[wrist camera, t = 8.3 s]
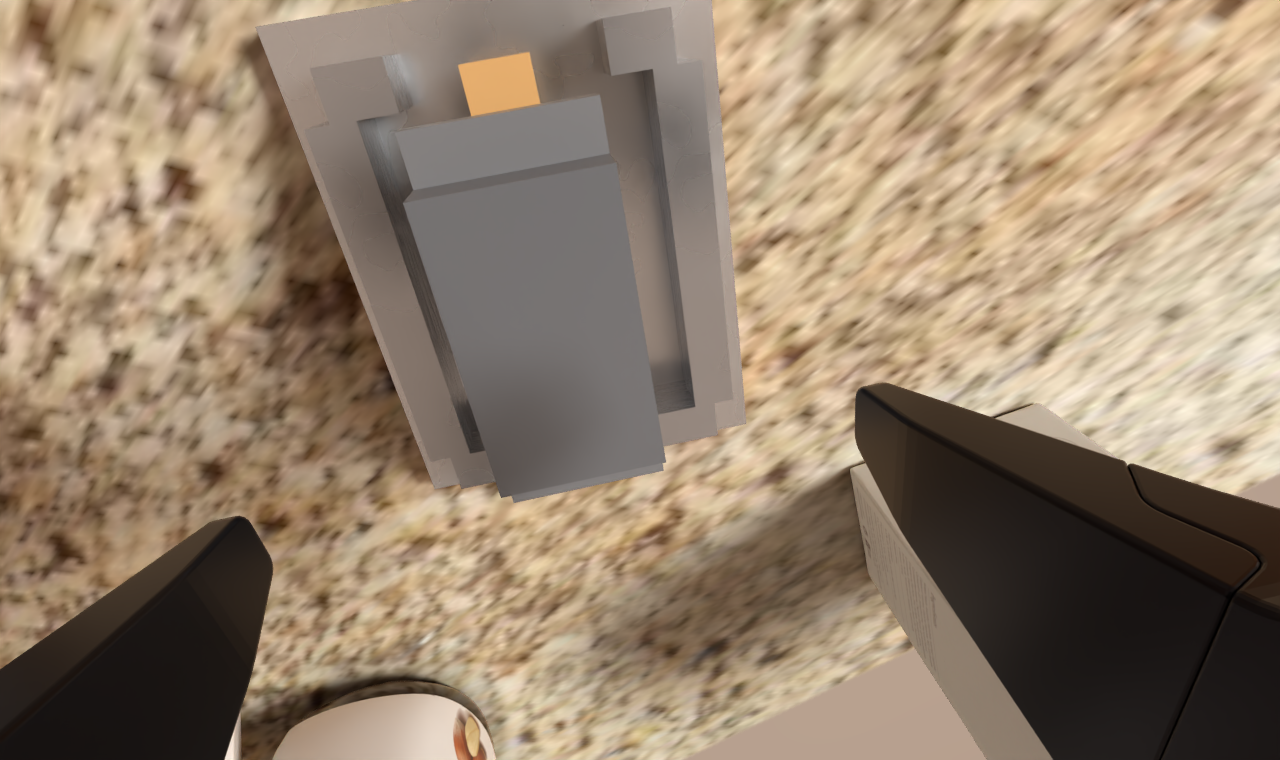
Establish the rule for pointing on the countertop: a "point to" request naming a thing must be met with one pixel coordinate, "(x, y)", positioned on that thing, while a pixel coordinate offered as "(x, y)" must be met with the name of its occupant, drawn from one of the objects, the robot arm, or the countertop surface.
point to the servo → (535, 282)
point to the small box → (951, 611)
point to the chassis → (564, 68)
